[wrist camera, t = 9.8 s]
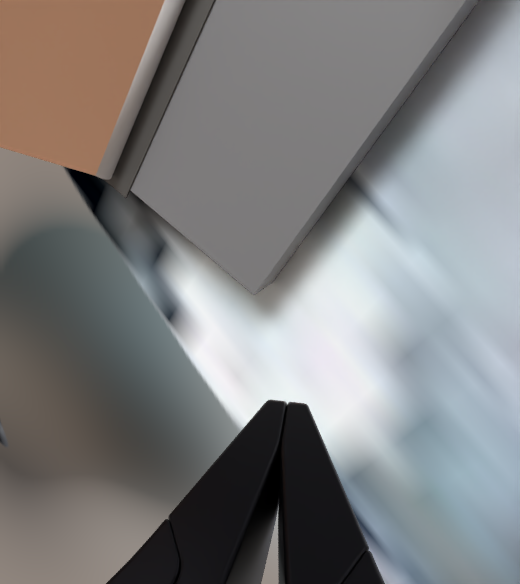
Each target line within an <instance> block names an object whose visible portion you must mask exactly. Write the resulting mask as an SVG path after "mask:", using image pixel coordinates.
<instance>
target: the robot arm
mask: <svg viewBox="0 0 520 584" xmlns="http://www.w3.org/2000/svg"><path fill="white" fill-rule="evenodd" d="M278 504H279V512H278V552H279V553H278V558H279V584H385V583H384V581H383V579H382V576H381V574H380V572H379V570H378V567H377V565H376V563H375V560H374V558H373V556H372V553H371V552H370V551H368V550H369V547H368V544H367V542H366V540H365V537H364V535H363V533H362V530H361V528H360V526H359V523H358V521H357V519H356V516H355V514H354V512H353V509H352V507H351V505H350V502H349V500H348V498H347V495H346V493H345V491H344V488H343V486H342V484H341V481H340V479H339V477H338V474H337V472H336V470H335V467H334V465H333V463H332V460H331V458H330V456H329V453H328V451H327V449H326V446H325V444H324V442H323V439H322V437H321V435H320V432H319V430H318V428H317V426H316V423H315V421H314V419H313V416H312V414H311V412H310V409H309V407H308V405H307V404H304V403H296V402H289V403H288V405H287V403H286V402H285V401H277V400H268V401H267V402H266V403H265V404H264V405H263V406H262V407H261V408H260V410H259V411H258V412H257V413H256V414H255V415H254V417H253V418H252V419H251V420H250V421H249V422H248V424H247V425H246V426H245V427H244V428H243V429H242V431H241V432H240V433H239V434H238V435H237V437H236V438H235V439H234V440H233V441H232V442H231V444H230V445H229V446H228V447H227V448H226V450H225V451H224V452H223V453H222V454H221V455H220V456H219V458H218V459H217V460H216V461H215V462H214V463H213V465H212V466H211V467H210V468H209V469H208V470H207V472H206V473H205V474H204V475H203V476H202V477H201V479H200V480H199V481H198V482H197V483H196V485H195V486H194V487H193V488H192V489H191V490H190V492H189V493H188V494H187V495H186V496H185V497H184V499H183V500H182V501H181V502H180V503H179V505H178V506H177V507H176V508H175V509H174V510H173V511H172V513H171V514H170V515H169V520H168V519H166V520H164V522H163V523H162V524H161V525H160V526H159V528H158V529H157V530H156V531H155V532H154V533H153V535H152V536H151V537H150V538H149V539H148V540H147V541H146V542H145V544H144V545H143V546H142V547H141V548H140V549H139V550H138V551H137V552H136V554H135V555H134V556H133V557H132V558H131V559H130V560H129V561H128V562H127V563H126V564H125V565H124V566H123V567H122V568H121V569H120V570H119V571H118V572H117V573H116V574H115V575H114V576H113V577H112V578H111V579H110V580H109V581H108V582H107V583H106V584H261V581H262V577H263V573H264V568H265V564H266V560H267V555H268V551H269V547H270V543H271V538H272V534H273V530H274V525H275V521H276V515H277V511H278Z"/></svg>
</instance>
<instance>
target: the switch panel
mask: <svg viewBox="0 0 520 584" xmlns="http://www.w3.org/2000/svg"><path fill="white" fill-rule="evenodd" d="M478 2H479V0H185V3H184V5H183V7H182V10H181V12H180V15H179V17H178V19H177V22H176V24H175V27H174V29H173V31H172V34H171V36H170V39H169V41H168V43H167V46H166V48H165V50H164V53H163V55H162V58H161V60H160V62H159V65H158V67H157V70H156V72H155V74H154V77H153V79H152V82H151V84H150V86H149V89H148V91H147V94H146V96H145V98H144V101H143V103H142V106H141V108H140V110H139V113H138V115H137V118H136V120H135V122H134V125H133V127H132V130H131V132H130V134H129V137H128V139H127V142H126V144H125V146H124V149H123V151H122V154H121V156H120V158H119V161H118V163H117V166H116V168H115V170H114V173H113V175H112V178H111V179H108V180H106V179H104V180H105V181H106V182H107V183H109V184H110V185H111V186H112V187H113V188H114V189H116V190H117V191H118V192H119V193H120V194H121V195H123V196H124V197H125V198H127V196H128V194H129V191H130V190H131V191H132V192H133V193H134V194H135V195H137V196H138V197H139V198H140V199H141V200H142V201H144V202H145V203H146V204H147V205H148V206H149V207H151V208H152V209H153V210H154V211H155V212H157V213H158V214H159V215H160V216H161V217H162V218H164V219H165V220H166V221H167V222H168V223H169V224H171V225H172V226H173V227H174V228H175V229H177V230H178V231H179V232H180V233H181V234H182V235H184V236H185V237H186V238H187V239H188V240H189V241H191V242H192V243H193V244H194V245H195V246H196V247H198V248H199V249H200V250H201V251H202V252H204V253H205V254H206V255H207V256H208V257H209V258H211V259H212V260H213V261H214V262H215V263H216V264H218V265H219V266H220V267H221V268H222V269H224V270H225V271H226V272H227V273H228V274H229V275H231V276H232V277H233V278H234V279H235V280H236V281H238V282H239V283H240V284H241V285H242V286H244V287H245V288H246V289H247V290H248V291H249V292H251V293H252V294H253V295H255V294H256V293H258V292H259V291H261V290H262V289H264V288H265V287H267V286H268V285H270V284H271V283H272V282H273V281H274V280H275V278H276V277H277V275H278V274H279V273H280V271H281V270H282V269H283V267H284V266H285V265H286V263H287V262H288V260H289V259H290V258H291V256H292V255H293V254H294V252H295V251H296V250H297V248H298V247H299V245H300V244H301V243H302V241H303V240H304V239H305V237H306V236H307V235H308V233H309V232H310V230H311V229H312V228H313V226H314V225H315V224H316V222H317V221H318V220H319V218H320V217H321V215H322V214H323V213H324V211H325V210H326V209H327V207H328V206H329V205H330V203H331V202H332V200H333V199H334V198H335V196H336V195H337V194H338V192H339V191H340V190H341V188H342V187H343V185H344V184H345V183H346V181H347V180H348V179H349V177H350V176H351V175H352V173H353V172H354V170H355V169H356V168H357V166H358V165H359V164H360V162H361V161H362V160H363V158H364V157H365V156H366V154H367V153H368V151H369V150H370V149H371V147H372V146H373V145H374V143H375V142H376V141H377V139H378V138H379V136H380V135H381V134H382V132H383V131H384V130H385V128H386V127H387V126H388V124H389V123H390V121H391V120H392V119H393V117H394V116H395V115H396V113H397V112H398V111H399V109H400V108H401V106H402V105H403V104H404V102H405V101H406V100H407V98H408V97H409V96H410V94H411V93H412V91H413V90H414V89H415V87H416V86H417V85H418V83H419V82H420V81H421V79H422V78H423V76H424V75H425V74H426V72H427V71H428V70H429V68H430V67H431V66H432V64H433V63H434V61H435V60H436V59H437V57H438V56H439V55H440V53H441V52H442V51H443V49H444V48H445V46H446V45H447V44H448V42H449V41H450V40H451V38H452V37H453V36H454V34H455V33H456V32H457V30H458V29H459V27H460V26H461V25H462V23H463V22H464V21H465V19H466V18H467V17H468V15H469V14H470V12H471V11H472V10H473V8H474V7H475V6H476V4H477V3H478Z"/></svg>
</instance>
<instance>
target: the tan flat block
mask: <svg viewBox="0 0 520 584" xmlns="http://www.w3.org/2000/svg"><path fill="white" fill-rule="evenodd" d="M184 3H185V0H0V147H1V148H4V149H8V150H11V151H14V152H18V153H21V154H25V155H28V156H31V157H34V158H38V159H41V160H44V161H48V162H51V163H54V164H58V165H61V166H65V167H68V168H71V169H75V170H78V171H81V172H85V173H88V174H91V175H95V176H97V177H99V178H102V179H106V180H108V179H111V178H112V175H113V173H114V170H115V168H116V166H117V163H118V161H119V158H120V156H121V154H122V151H123V149H124V146H125V144H126V142H127V139H128V137H129V134H130V132H131V130H132V127H133V125H134V122H135V120H136V118H137V115H138V113H139V110H140V108H141V106H142V103H143V101H144V98H145V96H146V94H147V91H148V89H149V86H150V84H151V82H152V79H153V77H154V74H155V72H156V70H157V67H158V65H159V62H160V60H161V58H162V55H163V53H164V50H165V48H166V46H167V43H168V41H169V39H170V36H171V34H172V31H173V29H174V27H175V24H176V22H177V19H178V17H179V15H180V12H181V10H182V7H183V5H184Z"/></svg>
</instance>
